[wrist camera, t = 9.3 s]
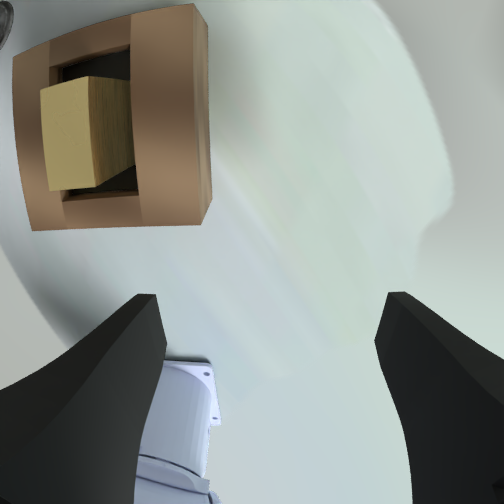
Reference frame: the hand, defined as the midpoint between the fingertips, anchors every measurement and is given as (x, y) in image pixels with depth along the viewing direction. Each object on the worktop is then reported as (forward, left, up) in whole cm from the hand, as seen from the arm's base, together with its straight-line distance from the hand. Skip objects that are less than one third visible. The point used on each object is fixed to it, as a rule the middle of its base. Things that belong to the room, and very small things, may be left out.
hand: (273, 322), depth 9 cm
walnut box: (+6, +8, -9) cm, 14 cm away
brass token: (+6, +8, -10) cm, 14 cm away
